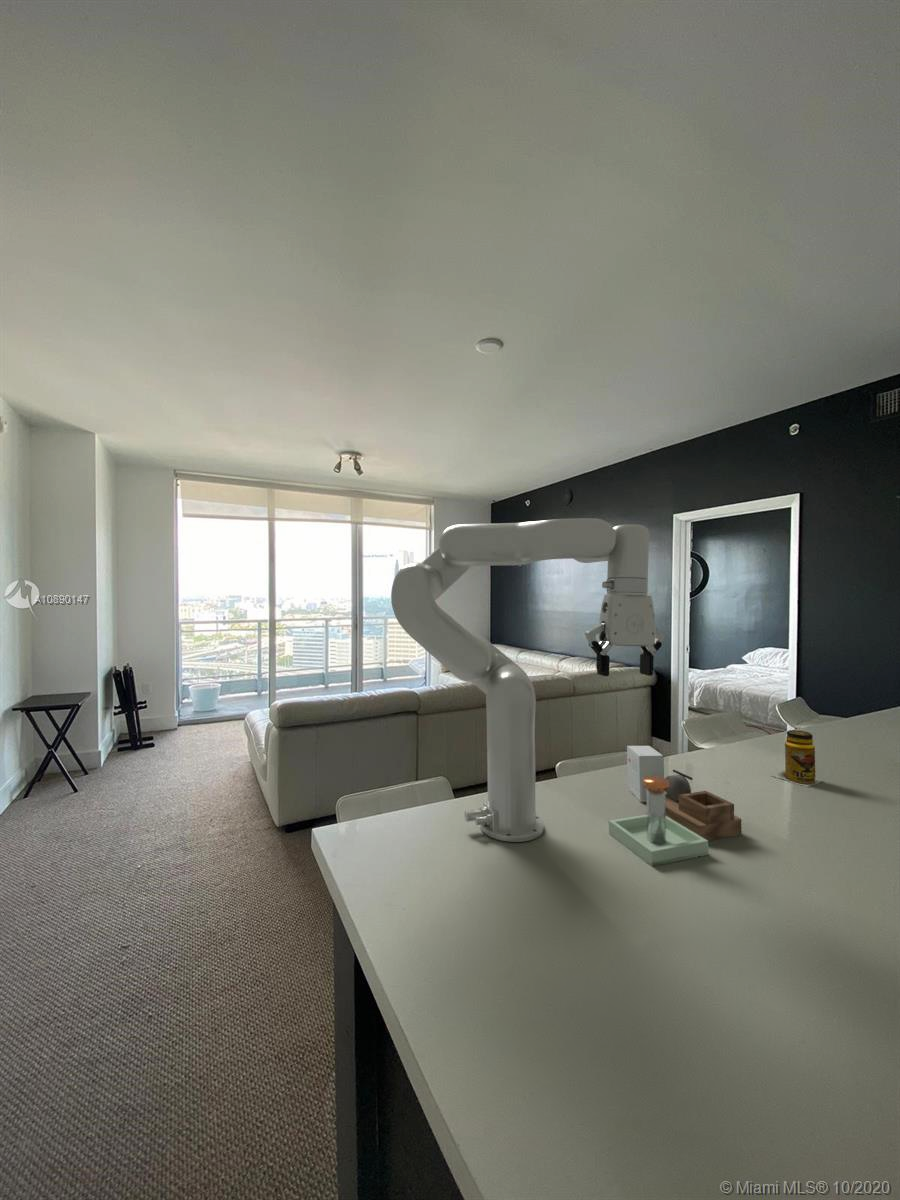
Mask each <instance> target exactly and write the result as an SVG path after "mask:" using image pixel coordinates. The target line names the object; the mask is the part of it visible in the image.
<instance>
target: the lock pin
mask: <svg viewBox="0 0 900 1200" xmlns="http://www.w3.org/2000/svg"><path fill="white" fill-rule="evenodd" d="M665 778H666V777H664V778H662V777H658V776H646V777H644V778H643V786H644V787H645V788H647V802H646V815H647V840H648V841H649V842H650V843H653V844H656V845H664V844H666V804H665V794H666V791H667V790H668V789H669V781H668V780H667V779H665Z"/></svg>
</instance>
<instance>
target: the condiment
mask: <svg viewBox="0 0 900 1200" xmlns="http://www.w3.org/2000/svg"><path fill="white" fill-rule="evenodd" d="M813 739H814V738H813V734H812V733H811V732H808V731H805V730H804V731H803V730H797V729H792V730H787V731H786V741H785V742H784V753H785V754H784V757H785V758H784V763H785V764H784V766H785V767H784V769H785V770H783V771H781V772H778V773H775V774H771V775H770V776H771V777H774V778H777V779H780V780H784V781H787V782H790V783H794V784H795V785H799V786H803V787H805V788H806V787H812V786H815V785H817V784H820V783H822V782H823V780H821V779H817V778H816V756H815V755H816V748H815V747H816V746H815V745H814V744H813V743H814V740H813Z"/></svg>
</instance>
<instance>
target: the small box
mask: <svg viewBox="0 0 900 1200" xmlns="http://www.w3.org/2000/svg"><path fill="white" fill-rule="evenodd" d="M626 757H627V758H626V763H627V764H626V765H627V768H626V769H627V789H628V791H629V792H630V793H631V794H632V793H633V794H634V795H635V796H634V795H633V794H632V795H633V796H634V797H635V798H636V799H637V800H638V801H639V802H640V803H647V788H645V787H644V786H643V778H644V777H646V776H658V777H662V778H665V767H664V766H665V763H664V762H665V761H664V759H665V758H664V755H663V754H661V753H660V752H659V751H657V750H656V749H655V748H653V747H652V746H651V745H626Z"/></svg>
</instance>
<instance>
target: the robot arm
mask: <svg viewBox="0 0 900 1200" xmlns="http://www.w3.org/2000/svg"><path fill="white" fill-rule="evenodd" d="M649 546H650V532H649V529H648V528H647V526H645V525H642V524H632V523H631V524H629V523H628V524H619V525H616V526H612V525H611V523H609V522H608V521H606V520H604V519H601V518H595V517H593V518H590V517H589V518H586V517H585V518H582V517H581V518H580V517H579V518H558V519H557V518H556V519H545V520H535V521H534V520H533V521H531V520H530V521H523V522H522V521H521V522H508V523H507V522H503V523H498V522H497V523H460V524H454V525H450V526H448V527H447V528H445V529H444V530H443V531H442V533H441V535H440V538H439V541H438V546H437V547H436V548H435V549H434V551H432V552H431V553H430V554H429V556H426V558H425V559H424V560H423V561H422V562H412V563H411V562H410V563H408V564H406V565H404V566H402V567H401V568H400V569H399V570H398V571H397V573H396V575H395V576H394V579H393V582H392V587H391V594H390V600H391V606H392V611H393V614H394V616H395V619H396V620H397V623H399V625H400V626H401V628H402V629H403V630H404V631H405V632H406V634H407V635H408V636H409V637H410V638H412V639H413V640H414V641H415V642H416V643H417V644H418V645H420V646H421V647H422V648H423V649H424V650H425V651H426V652H427V653H428V654H429V655H430V656H432V657H433V658H435V659H436V660H437V661H438V662H439V663H440V664H441V665H442V666H443V667H445V668H446V669H447V670H448V672H450V673H451V674H452V675H453V676H454V677H456V678H457V679H458V680H460V681H463V682H468V683H469V682H470V683H472V684H473V685H475V687H477V688H478V689H479V690H480V691H482V692H483V693H484V694H485V696H486V697H485V705H486V707H485V708H486V710H485V711H486V750H487V751H486V752H487V754H486V755H487V759H486V760H487V801H483V805H482V806H483V807H479V809H476V810H474V809H473V810H467V811H466V810H465V811H464V820H465V822H467V823H468V822H474V824H475V825H476V826H480V829H481V831H482V832H483V833H484V834H485V835H486V836H488V837H490V838H492V839H495V840H497V841H500V842H501V841H503V842H507V843H508V842H509V843H522V842H523V843H524V842H529V841H531V840H534V839H537V838H538V837H540V836H541V835H542V834H543V833H544V828H545V824H544V820H542V818H541V817H540V816H539V815H538V814H536V812H537V811H536V749H535V748H536V744H535V743H536V741H535V733H536V732H535V731H536V730H535V729H536V727H535V726H536V705H537V700H536V699H537V698H536V692H535V691H536V690H535V687H534V685H533V682H532V681H531V678H530V676H529V675H528V674H527V673H526V671H525V670H524V669H523V668H521V666H519V664H517V663H516V662H515V661H513V660H512V658H510V657H508V655H506V654H505V653H503V652H502V651H501V650H500V649H498V647H496V646H495V645H494V644H493V643H492V642H490V641H489V640H488V639H487V638H486V637H484V636H482V635H480V634H478V633H474V632H470V631H469V630H467V629H466V628H465V627H463V625H461V624H460V623H459V622H458V621H457V620H456V619H454V618H453V617H452V616H451V615H450V614H448V613H447V612H446V611H445V610H444V609H443V608H441V607H440V606H439V605H438V603H437V599H439V598H440V597H441V596H442V595H443V594H445V592H446V591H448V590H449V589H450V587H452V586H453V585H454V584H455V583H456V582H457V581H458V580H459V579H460V578H462V576H463V575H465V574H466V573H467V572H468V570H470V569H471V567H475V566H481V567H482V566H521V565H523V566H524V565H529V564H532V563H536V562H541V561H548V560H549V561H550V560H568V559H573V560H575V561H576V562H579V563H583V564H590V563H599V562H607V572H606V573H607V578H606V581H602V583H601V586H602V587H601V588H603V589H606V594H604V595H603V598H602V602H601V608H600V616H599V623H598V624H597V625H595V626H594V627H592V628H591V627H590V629H588V630H586V631H584V635H585V637H586V640H587V642H588V646H589V647H590V648H591V650H593V653H594V654H595V655H596V665H595V666H596V674H597V675H599V676H602V677H609V676H610V660H611V659H610V655H609V654H608V653H609V651H610V650H611V649H612V648H613V647H614V646H616V647H638V648H639V649H640V650H641V651H642V653H640V655H639V657H640V658H639V673H640V674H641V675H644V676H650V677H652V676H653V674H654V661H655V660H654V657H655V656H656V655H657V654H658V650H659V649H661V648H662V646H663V644H662V643H664V640H665V637H666V633H665V632H664V631H662V630H661V629H659V628H657V627H656V617H655V616H656V615H655V608H654V601H653V598H652V595H648V593H649V592H648V591H649V590H648V589H649V583H648V582H649V579H648V578H649V551H650V550H649V549H650V547H649ZM597 635H598V639H599V641H597V637H596V636H597ZM607 654H608V655H607Z"/></svg>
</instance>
